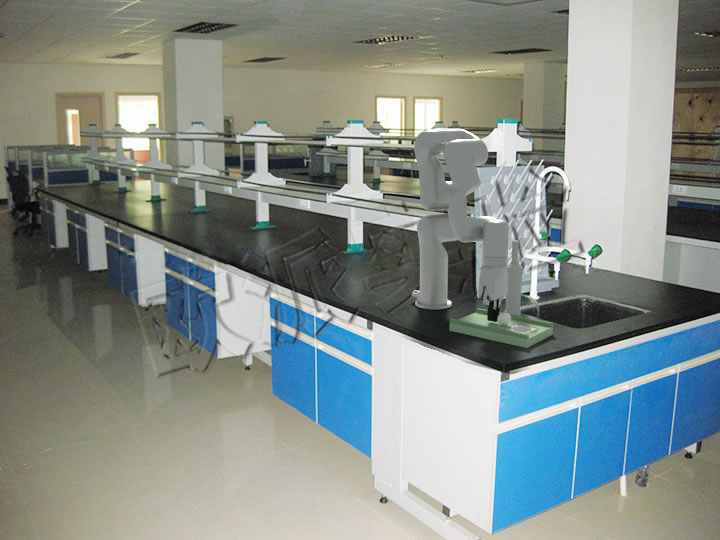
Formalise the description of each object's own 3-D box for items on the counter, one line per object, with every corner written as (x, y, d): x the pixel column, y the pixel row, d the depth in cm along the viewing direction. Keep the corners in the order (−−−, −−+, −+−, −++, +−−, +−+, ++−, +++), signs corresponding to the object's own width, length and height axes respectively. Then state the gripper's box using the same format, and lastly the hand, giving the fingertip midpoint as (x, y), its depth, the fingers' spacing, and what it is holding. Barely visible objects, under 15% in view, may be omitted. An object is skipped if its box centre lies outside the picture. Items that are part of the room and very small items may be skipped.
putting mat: (449, 330, 211) (449, 318, 210) (477, 319, 223) (477, 308, 222) (526, 348, 194) (527, 335, 194) (552, 334, 206) (553, 322, 205)
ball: (507, 327, 204) (495, 326, 207) (514, 324, 207) (502, 324, 210) (505, 313, 204) (494, 313, 207) (512, 311, 207) (501, 311, 209)
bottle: (518, 314, 228) (521, 239, 223) (522, 318, 223) (525, 242, 218) (502, 314, 228) (505, 239, 223) (506, 318, 223) (509, 242, 218)
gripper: (496, 256, 214) (495, 313, 217) (470, 263, 203) (469, 324, 207) (518, 259, 209) (516, 317, 213) (492, 267, 198) (491, 328, 202)
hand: (493, 320), depth 210 cm, fingers closed
